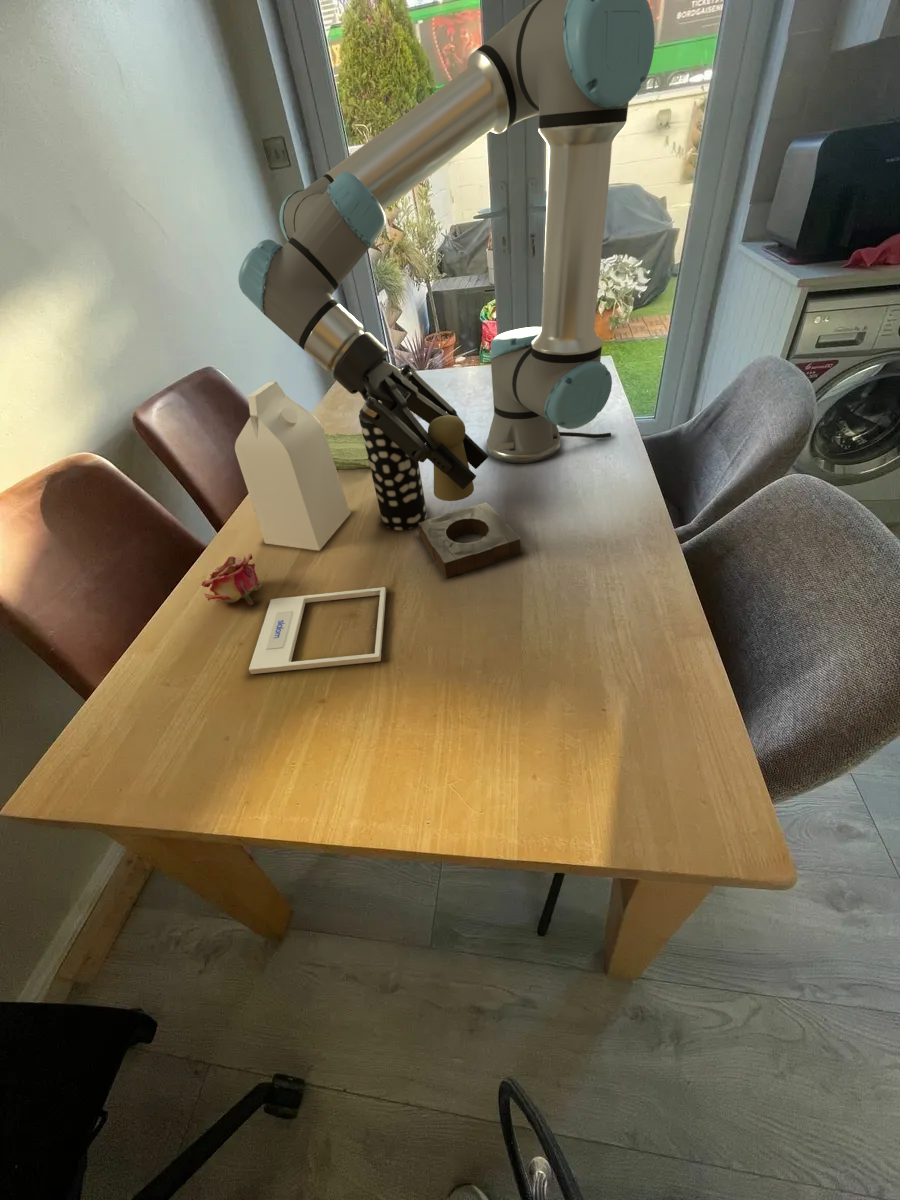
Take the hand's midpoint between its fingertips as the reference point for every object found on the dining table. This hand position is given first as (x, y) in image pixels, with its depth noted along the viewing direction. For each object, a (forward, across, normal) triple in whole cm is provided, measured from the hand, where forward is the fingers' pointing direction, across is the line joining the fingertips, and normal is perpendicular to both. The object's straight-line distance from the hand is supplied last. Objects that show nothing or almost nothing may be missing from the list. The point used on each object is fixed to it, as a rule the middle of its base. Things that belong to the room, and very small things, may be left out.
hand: (475, 472), depth 78 cm
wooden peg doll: (0, 0, -5) cm, 5 cm away
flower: (-14, +18, -37) cm, 43 cm away
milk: (-13, -3, -36) cm, 39 cm away
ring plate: (+9, -4, -14) cm, 17 cm away
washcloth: (-18, -30, -41) cm, 54 cm away
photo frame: (-2, +21, -24) cm, 32 cm away
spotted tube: (-1, -10, -24) cm, 26 cm away
